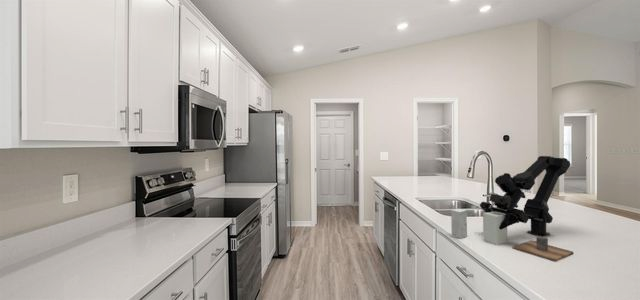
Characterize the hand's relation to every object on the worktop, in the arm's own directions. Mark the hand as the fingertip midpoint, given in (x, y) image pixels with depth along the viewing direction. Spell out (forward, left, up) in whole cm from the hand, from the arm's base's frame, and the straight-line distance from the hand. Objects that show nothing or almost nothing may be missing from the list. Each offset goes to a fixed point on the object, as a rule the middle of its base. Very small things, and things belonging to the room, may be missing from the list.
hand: (492, 226), depth 116 cm
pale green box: (-1, 0, -7) cm, 7 cm away
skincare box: (+6, -12, -7) cm, 15 cm away
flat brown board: (-6, +15, -7) cm, 18 cm away
